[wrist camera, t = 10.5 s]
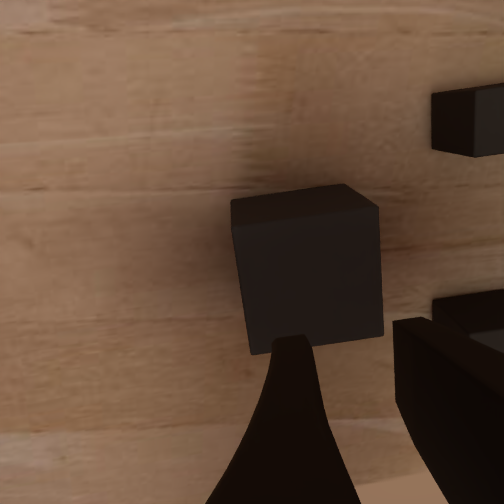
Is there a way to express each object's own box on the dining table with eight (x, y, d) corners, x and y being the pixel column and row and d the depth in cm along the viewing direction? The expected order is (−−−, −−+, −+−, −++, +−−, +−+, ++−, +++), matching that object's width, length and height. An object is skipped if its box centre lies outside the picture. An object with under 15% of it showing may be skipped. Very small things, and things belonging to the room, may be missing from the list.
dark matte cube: (351, 288, 18) (384, 336, 14) (246, 303, 18) (251, 356, 14) (344, 183, 17) (379, 205, 13) (230, 199, 17) (230, 226, 13)
